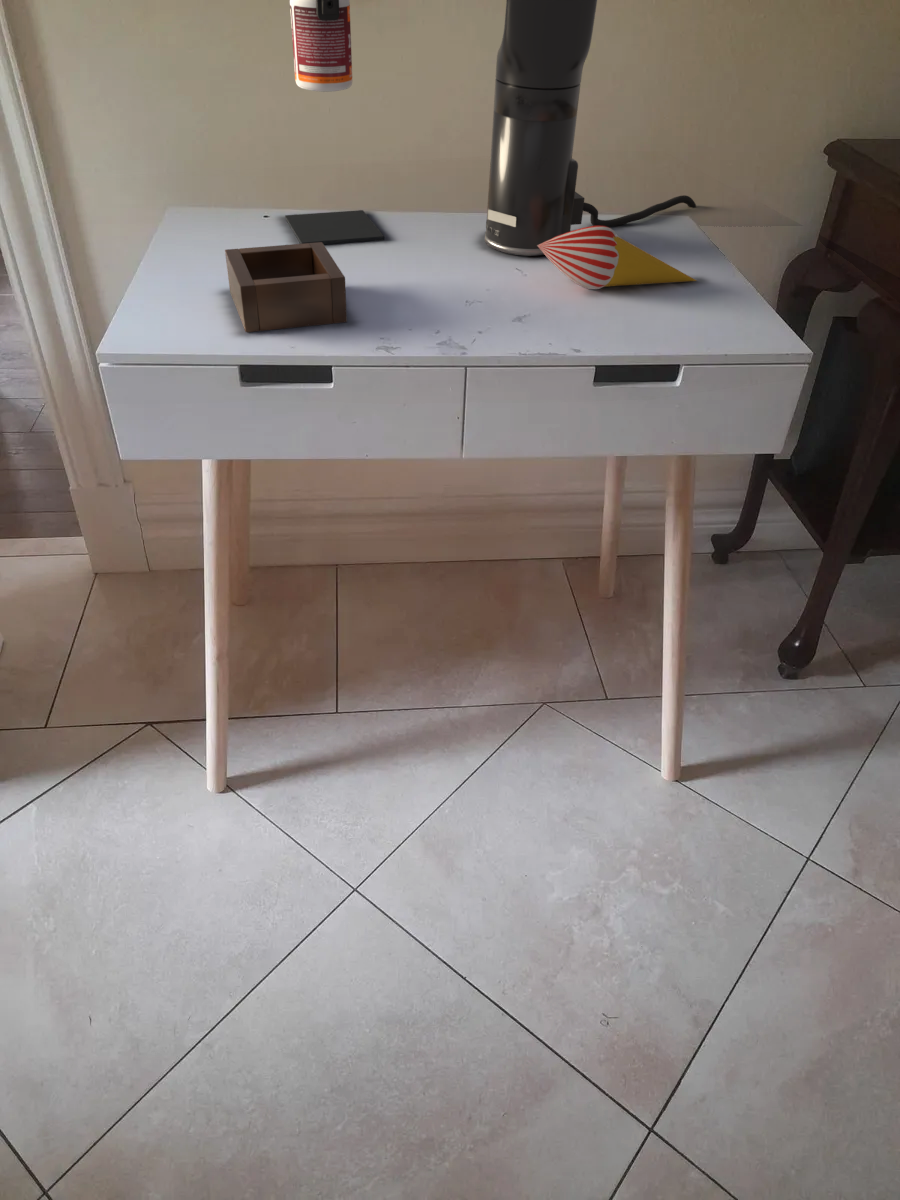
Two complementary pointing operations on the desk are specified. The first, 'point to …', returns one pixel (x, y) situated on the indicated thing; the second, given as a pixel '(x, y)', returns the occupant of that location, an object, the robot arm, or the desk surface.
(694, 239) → the desk surface
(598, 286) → the ice cream cone
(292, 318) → the holder
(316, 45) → the pill bottle
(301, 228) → the coaster
